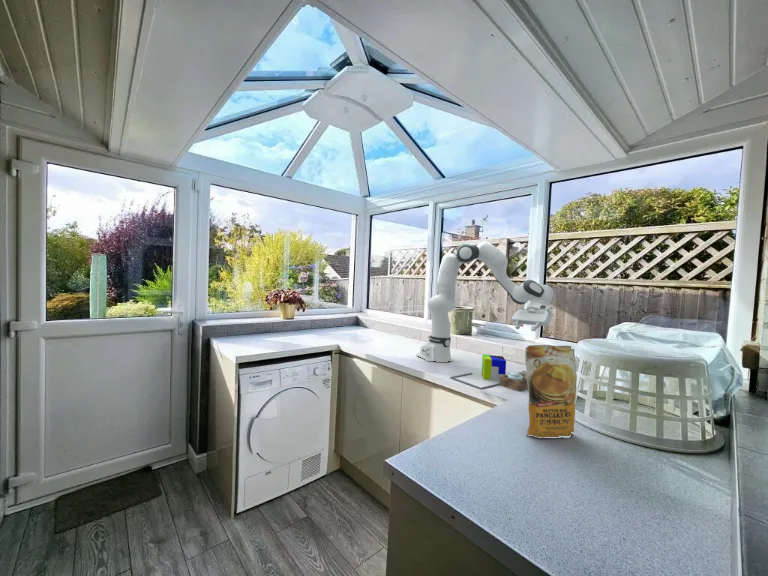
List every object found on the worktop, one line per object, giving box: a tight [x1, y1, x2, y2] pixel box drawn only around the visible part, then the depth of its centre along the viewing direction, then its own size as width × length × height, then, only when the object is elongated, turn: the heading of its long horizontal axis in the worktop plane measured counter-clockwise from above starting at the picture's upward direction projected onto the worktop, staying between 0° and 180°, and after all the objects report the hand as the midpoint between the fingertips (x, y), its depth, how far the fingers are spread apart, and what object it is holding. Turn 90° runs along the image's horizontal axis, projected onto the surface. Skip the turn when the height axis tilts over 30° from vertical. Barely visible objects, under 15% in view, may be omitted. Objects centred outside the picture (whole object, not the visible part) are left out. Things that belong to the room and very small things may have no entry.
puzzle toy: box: [481, 354, 507, 382], centre depth 162 cm, size 10×10×10 cm
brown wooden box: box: [498, 370, 528, 392], centre depth 150 cm, size 10×16×6 cm, turn 126°
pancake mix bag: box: [524, 344, 578, 438], centre depth 101 cm, size 7×19×28 cm, turn 98°
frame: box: [449, 372, 501, 391], centre depth 154 cm, size 19×17×1 cm
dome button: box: [507, 371, 523, 381], centre depth 148 cm, size 6×6×3 cm
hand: (524, 329), depth 169 cm, fingers open, 8 cm apart
